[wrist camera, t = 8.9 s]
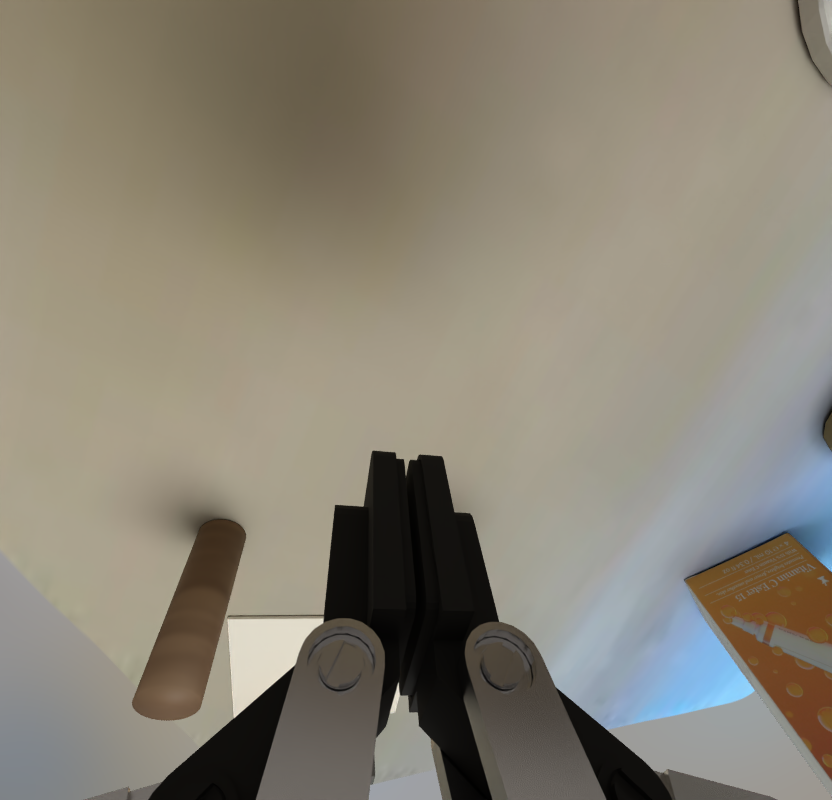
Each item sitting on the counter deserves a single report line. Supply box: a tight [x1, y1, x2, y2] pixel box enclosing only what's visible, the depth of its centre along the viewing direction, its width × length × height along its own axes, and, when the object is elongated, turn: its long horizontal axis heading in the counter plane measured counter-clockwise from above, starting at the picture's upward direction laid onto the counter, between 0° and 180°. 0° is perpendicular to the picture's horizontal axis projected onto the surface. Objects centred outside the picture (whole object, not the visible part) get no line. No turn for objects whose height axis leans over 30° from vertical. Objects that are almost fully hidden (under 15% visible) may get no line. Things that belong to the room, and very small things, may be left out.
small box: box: [685, 533, 832, 797], centre depth 29 cm, size 8×6×13 cm
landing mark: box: [228, 616, 400, 718], centre depth 34 cm, size 13×13×1 cm
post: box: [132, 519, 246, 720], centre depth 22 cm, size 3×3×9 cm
